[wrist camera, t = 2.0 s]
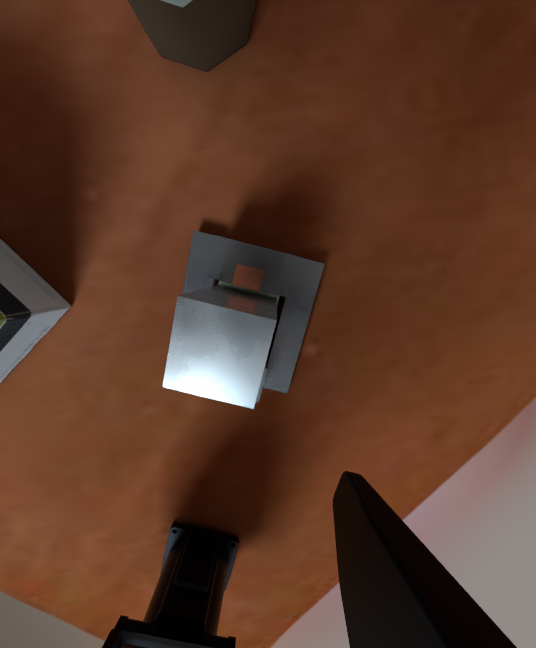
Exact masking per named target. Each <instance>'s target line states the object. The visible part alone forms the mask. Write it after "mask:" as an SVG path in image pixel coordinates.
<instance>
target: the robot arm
mask: <svg viewBox="0 0 536 648" xmlns="http://www.w3.org/2000/svg"><path fill="white" fill-rule="evenodd" d="M333 514H334V526H335V539H336V551H337V563H338V574H339V583H340V590H341V596H342V602H343V607H344V614H345V620H346V625H347V632H348V638H349V644H350V648H517V647H516V646H515V645H514V644H513V643H512V642H511V641H510V639H508V637H507V636H506V635H505V634H504V633H503V632H502V631H501V630H500V628H499V627H498V626H497V625H496V624H495V623H494V622H493V621H492V620H491V618H490V617H489V616H488V615H487V614H486V613H485V612H484V611H483V610H482V609H481V607H480V606H479V605H478V604H477V603H476V602H475V601H474V600H473V598H472V597H471V596H470V595H469V594H468V593H467V592H466V591H465V590H464V588H463V587H462V586H461V585H460V584H459V583H458V582H457V581H456V580H455V578H454V577H453V576H452V575H451V574H450V573H449V572H448V571H447V570H446V569H445V567H444V566H443V565H442V564H441V563H440V562H439V561H438V560H437V559H436V557H435V556H434V555H433V554H432V553H431V552H430V551H429V550H428V549H427V547H426V546H425V545H424V544H423V543H422V542H421V541H420V540H419V539H418V537H417V536H416V535H415V534H414V533H413V532H412V531H411V530H410V529H409V527H408V526H407V525H406V524H405V523H404V522H403V521H402V520H401V519H400V517H399V516H398V515H397V514H396V513H395V512H394V511H393V510H392V509H391V507H390V506H389V505H388V504H387V503H386V502H385V501H384V500H383V499H382V497H381V496H380V495H379V494H378V493H377V492H376V491H375V490H374V489H373V487H372V486H371V485H370V484H369V483H368V482H367V481H366V480H365V479H364V478H363V477H362V476H361V475H360V474H358V473H353V472H349V471H345V472H343V474H342V476H341V478H340V481H339V483H338V486H337V489H336V491H335V494H334V497H333ZM238 544H239V540H238V538H237V537H234V536H230V535H226V534H221V533H217V532H213V531H209V530H204V529H200V528H196V527H192V526H187V525H183V524H179V523H173V524H172V525H171V528H170V530H169V535H168V540H167V545H166V549H165V554H164V559H163V564H162V569H161V576H160V578H159V581H158V584H157V586H156V589H155V591H154V594H153V597H152V599H151V602H150V605H149V607H148V610H147V613H146V615H145V618H144V620H143V621H139V620H133V619H128V616H123V615H121V616H120V618H119V620H118V622H117V624H116V626H115V628H114V629H112V630H111V631H110V633H109V635H108V637H107V639H106V641H105V643H104V645H103V647H102V648H235V642H236V637H231V636H229V638H226V637H221V636H217V630H218V624H219V618H220V612H221V606H222V599H223V593H224V591H225V590H226V587H227V584H228V580H229V577H230V573H231V570H232V566H233V563H234V559H235V556H236V552H237V549H238Z"/></svg>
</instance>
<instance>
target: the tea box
mask: <svg viewBox="0 0 536 648" xmlns="http://www.w3.org/2000/svg"><path fill="white" fill-rule="evenodd" d="M70 306H71V305H70V304H69V303H68V302H67V301H66V300H65V299H64V298H63V297H62V296H61V295H60V294H59V293H58V292H57V291H55V290H54V289H53V288H52V287H51V286H50V285H49V284H48V283H47V282H46V281H45V280H44V279H43V278H42V277H41V276H40V275H39V274H38V273H37V272H35V271H34V270H33V269H32V268H31V267H30V266H29V265H28V264H27V263H26V262H25V261H24V260H23V259H22V258H21V257H20V256H18V255H17V254H16V253H15V252H14V251H13V250H12V249H11V248H10V247H9V246H8V245H7V244H6V243H5V242H4V241H2V240H1V239H0V383H1V382H2V381H3V380H4V379H5V377H6V376H7V375H8V374H9V373H10V372H11V370H12V369H13V368H14V367H15V366H16V365H17V364H18V363H19V362H20V361H21V360H22V359H23V358H24V357H25V356H26V355H27V354H28V353H29V352H30V351H31V350H32V348H33V347H34V346H35V345H36V344H37V343H38V341H39V340H40V339H41V338H42V337H43V336H44V335H46V334H47V333H48V331H49V330H50V329H51V328H52V327H53V326H54V325H55V324H56V323H57V321H58V320H59V319H60V318H61V317H62V316H63V315H64V314H65V312H66V311H67V310H68V309H69V308H70Z"/></svg>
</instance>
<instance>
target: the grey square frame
mask: <svg viewBox="0 0 536 648" xmlns="http://www.w3.org/2000/svg"><path fill="white" fill-rule="evenodd" d="M324 265H325V264H324V263H320V262H316V261H312V260H308V259H304V258H300V257H297V256H295V255H291V254H287V253H283V252H280V251H276V250H272V249H268V248H264V247H260V246H256V245H252V244H248V243H244V242H240V241H237V240H233V239H229V238H225V237H221V236H217V235H215V236H214V235H210V234H207V233H203V232H199V231H195V230H194V231H193V236H192V242H191V248H190V254H189V260H188V265H187V271H186V277H185V283H184V289H183V294H186V293H190V292H193V291H196V290H200V289H203V288H207V287H210V286H214V285H216V283H217V280H220V281H224V282H228V283H232V285H236V286H239V287H243V288H247V289H251V290H255V291H259V290H260V291H264V292H268V293H272V294H276V295H279V296H283V297H285V299H284V303H283V307H282V310H281V314H280V318H279V322H278V326H277V329H276V333H275V337H274V341H273V345H272V348H271V352H270V356H269V352H268V356H267V360H266V364H265V367H264V371H263V375H262V379H261V383H260V387H259V390H258V394H257V398H256V402H258V403H259V400H260V396H261V392H262V388H267V389H271V390H275V391H279V392H283V393H288V389H289V386H290V382H291V379H292V375H293V372H294V368H295V365H296V362H297V358H298V355H299V351H300V348H301V344H302V341H303V337H304V334H305V331H306V327H307V324H308V320H309V317H310V313H311V310H312V306H313V303H314V300H315V296H316V293H317V289H318V286H319V282H320V279H321V275H322V272H323V269H324ZM183 294H182V295H183Z"/></svg>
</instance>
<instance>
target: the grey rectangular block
mask: <svg viewBox="0 0 536 648" xmlns="http://www.w3.org/2000/svg"><path fill="white" fill-rule="evenodd" d="M279 297H280V296H279V295H276V294H272V293H268V292H264V291H260V290H259V291H255V290H251V289H247V288H243V287H239V286H236V285H232V283H228V282H224V281H219V284H217V285H214V286H210V287H207V288H203V289H200V290H196V291H193V292H190V293H186V294H183V295H179V296H178V298H177V304H176V310H175V316H174V322H173V328H172V334H171V339H170V345H169V351H168V357H167V363H166V369H165V375H164V381H163V387H165V388H169V389H173V390H177V391H182V392H186V393H190V394H194V395H198V396H202V397H206V398H210V399H214V400H218V401H223V402H227V403H231V404H235V405H239V406H243V407H247V408H251V409H254V406H255V402H256V398H257V394H258V390H259V387H260V383H261V379H262V375H263V371H264V367H265V364H266V360H267V356H268V352H269V348H270V345H271V341H272V337H273V333H274V329H275V325H276V322H277V305H278V301H279Z"/></svg>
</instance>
